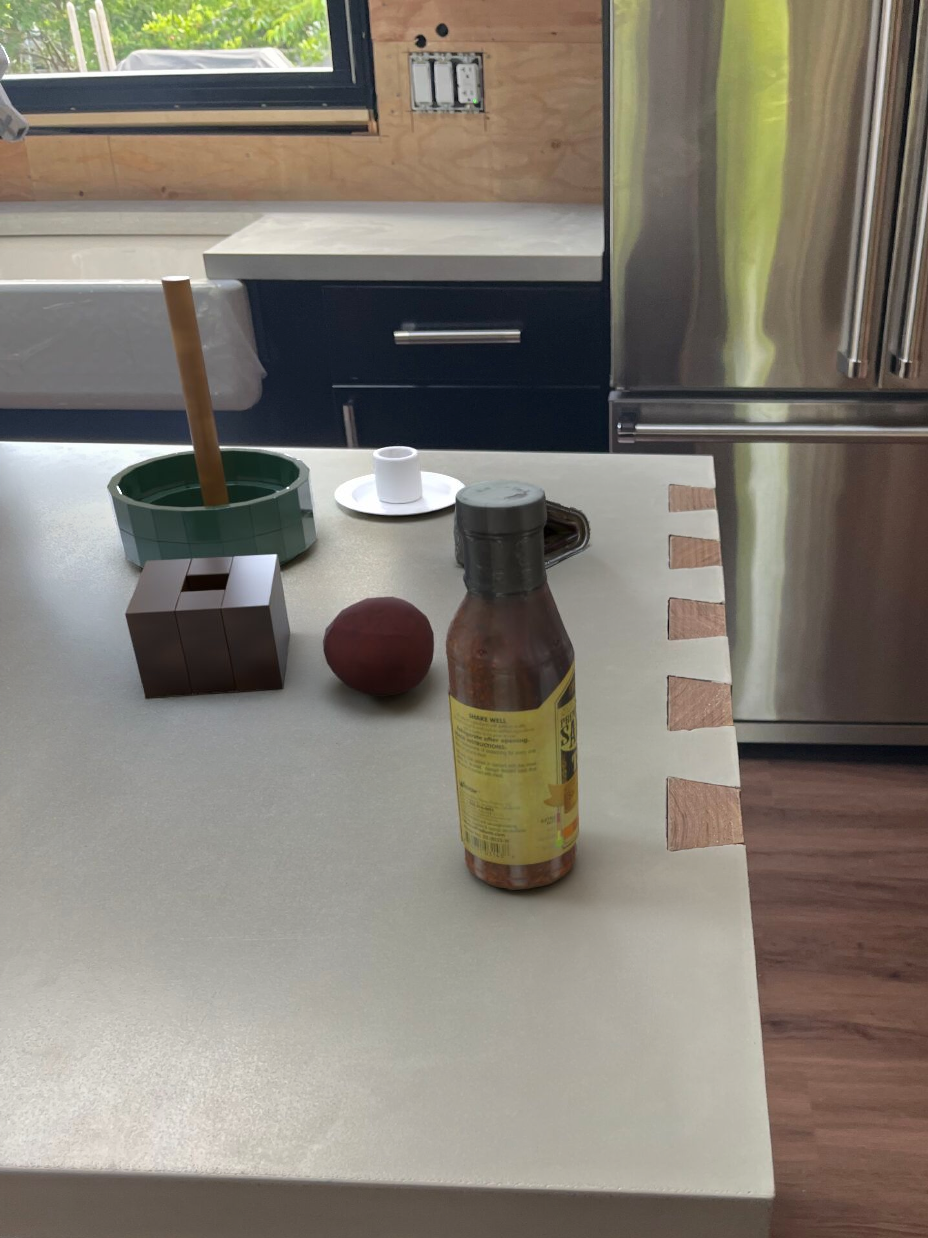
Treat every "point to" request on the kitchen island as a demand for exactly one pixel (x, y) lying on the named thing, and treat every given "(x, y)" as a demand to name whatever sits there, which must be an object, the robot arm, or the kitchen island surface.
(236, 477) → the bowl
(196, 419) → the stirring stick
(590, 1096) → the kitchen island surface
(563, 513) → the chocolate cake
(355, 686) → the potato
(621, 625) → the kitchen island surface
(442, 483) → the candle holder
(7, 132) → the robot arm
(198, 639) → the stick holder
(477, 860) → the sauce bottle
